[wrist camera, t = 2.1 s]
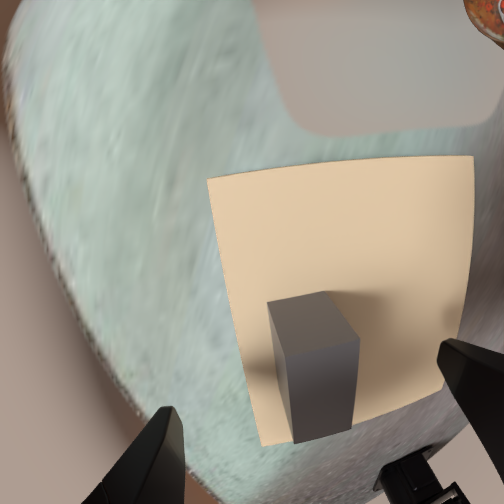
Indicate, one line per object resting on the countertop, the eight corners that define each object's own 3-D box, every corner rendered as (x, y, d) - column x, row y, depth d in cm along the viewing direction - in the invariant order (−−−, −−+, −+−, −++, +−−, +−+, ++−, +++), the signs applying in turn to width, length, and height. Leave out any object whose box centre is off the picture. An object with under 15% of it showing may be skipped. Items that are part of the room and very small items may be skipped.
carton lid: (436, 384, 13) (468, 422, 10) (260, 439, 13) (270, 495, 9) (465, 155, 9) (528, 163, 6) (207, 178, 9) (199, 189, 6)
